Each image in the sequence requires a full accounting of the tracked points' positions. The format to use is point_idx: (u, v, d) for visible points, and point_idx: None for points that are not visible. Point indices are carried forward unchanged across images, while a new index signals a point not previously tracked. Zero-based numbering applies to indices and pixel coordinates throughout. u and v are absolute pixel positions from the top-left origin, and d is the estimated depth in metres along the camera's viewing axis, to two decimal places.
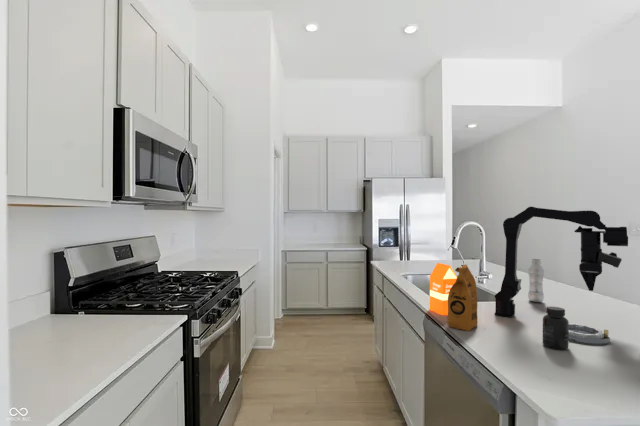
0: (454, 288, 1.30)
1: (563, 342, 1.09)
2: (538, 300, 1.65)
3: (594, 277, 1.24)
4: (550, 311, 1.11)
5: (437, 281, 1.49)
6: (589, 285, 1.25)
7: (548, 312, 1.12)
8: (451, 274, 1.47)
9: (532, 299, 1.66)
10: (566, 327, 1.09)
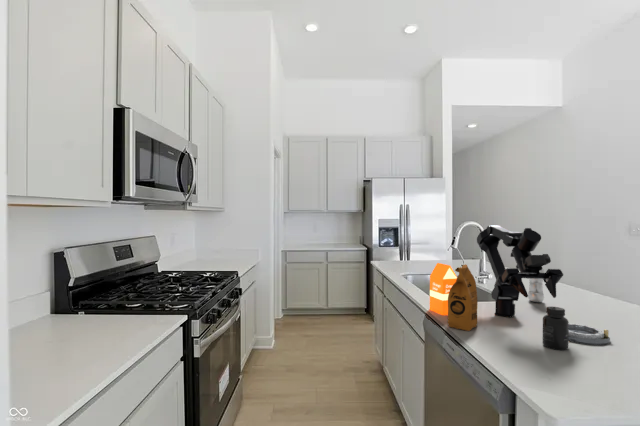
0: (454, 288, 1.30)
1: (563, 342, 1.09)
2: (538, 300, 1.65)
3: (518, 282, 1.24)
4: (550, 311, 1.11)
5: (437, 281, 1.49)
6: (522, 292, 1.22)
7: (548, 312, 1.12)
8: (451, 274, 1.47)
9: (532, 299, 1.66)
10: (566, 327, 1.09)
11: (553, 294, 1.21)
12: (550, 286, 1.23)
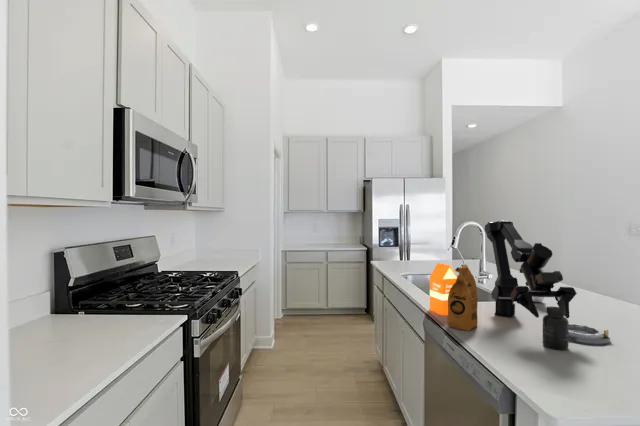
0: (454, 288, 1.30)
1: (563, 342, 1.09)
2: (538, 300, 1.65)
3: (528, 301, 1.16)
4: (550, 311, 1.11)
5: (437, 281, 1.49)
6: (533, 312, 1.15)
7: (548, 312, 1.12)
8: (451, 274, 1.47)
9: (532, 299, 1.66)
10: (566, 327, 1.09)
11: (566, 314, 1.14)
12: (562, 305, 1.16)
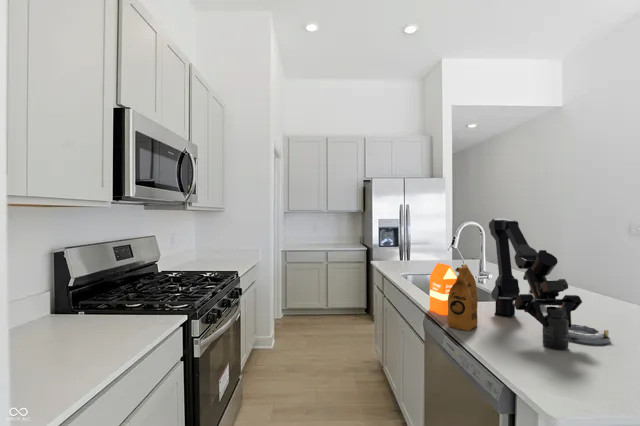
0: (454, 288, 1.30)
1: (563, 342, 1.09)
2: None
3: (536, 310, 1.14)
4: (550, 311, 1.11)
5: (437, 281, 1.49)
6: (541, 321, 1.12)
7: (548, 312, 1.12)
8: (451, 274, 1.47)
9: None
10: (566, 327, 1.09)
11: None
12: None
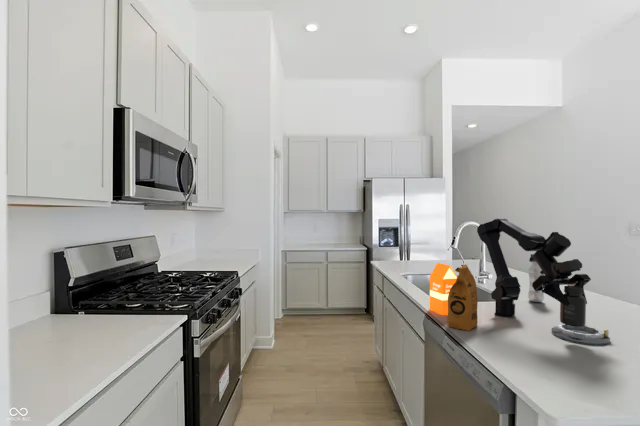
0: (454, 288, 1.30)
1: (583, 319, 1.13)
2: (538, 300, 1.65)
3: (556, 290, 1.17)
4: (570, 290, 1.15)
5: (437, 281, 1.49)
6: (562, 300, 1.16)
7: (568, 291, 1.16)
8: (451, 274, 1.47)
9: (532, 299, 1.66)
10: (585, 304, 1.14)
11: None
12: None
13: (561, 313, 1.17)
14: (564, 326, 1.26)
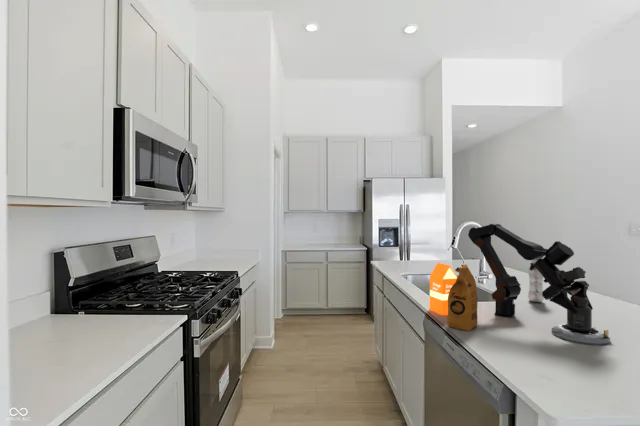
0: (454, 288, 1.30)
1: (590, 328, 1.18)
2: (538, 300, 1.65)
3: (564, 298, 1.20)
4: (578, 301, 1.20)
5: (437, 281, 1.49)
6: (570, 308, 1.19)
7: (576, 302, 1.20)
8: (451, 274, 1.47)
9: (532, 299, 1.66)
10: (591, 314, 1.19)
11: None
12: None
13: (570, 324, 1.21)
14: (564, 326, 1.26)
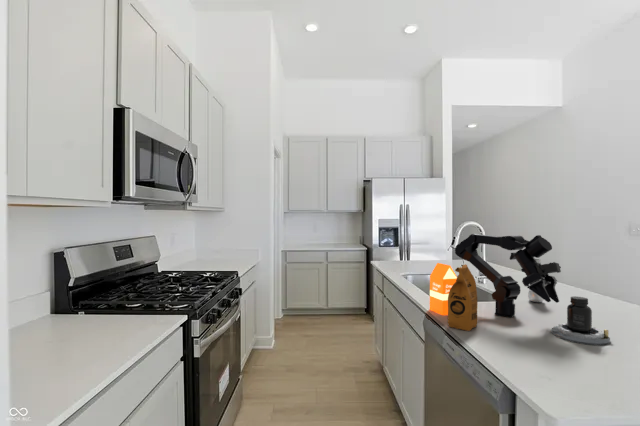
0: (454, 288, 1.30)
1: (591, 329, 1.18)
2: (538, 300, 1.65)
3: (542, 287, 1.27)
4: (578, 301, 1.20)
5: (437, 281, 1.49)
6: (544, 297, 1.27)
7: (576, 302, 1.20)
8: (451, 274, 1.47)
9: (532, 299, 1.66)
10: (591, 314, 1.19)
11: (556, 299, 1.32)
12: (551, 291, 1.34)
13: (570, 324, 1.21)
14: (564, 326, 1.26)
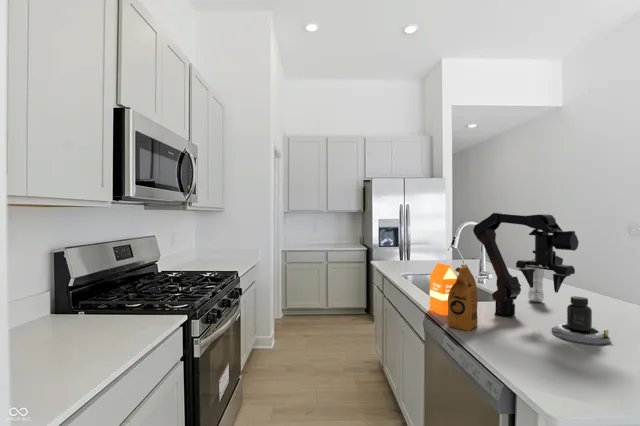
0: (454, 288, 1.30)
1: (591, 329, 1.18)
2: (538, 300, 1.65)
3: (562, 279, 1.28)
4: (578, 301, 1.20)
5: (437, 281, 1.49)
6: (557, 287, 1.29)
7: (576, 302, 1.20)
8: (451, 274, 1.47)
9: (532, 299, 1.66)
10: (591, 314, 1.19)
11: (532, 285, 1.37)
12: (531, 276, 1.38)
13: (570, 324, 1.21)
14: (564, 326, 1.26)
